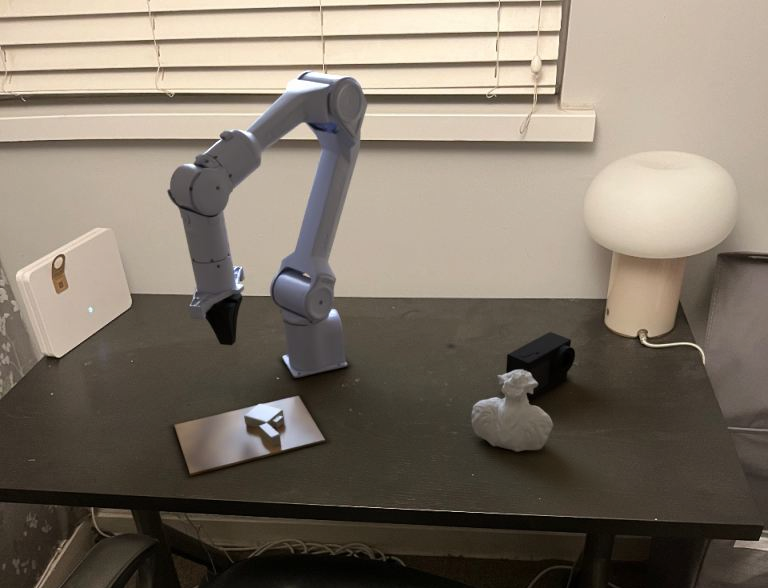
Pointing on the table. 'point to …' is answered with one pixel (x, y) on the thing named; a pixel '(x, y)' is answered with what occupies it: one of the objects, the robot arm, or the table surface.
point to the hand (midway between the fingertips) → (227, 342)
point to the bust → (512, 416)
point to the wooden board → (243, 437)
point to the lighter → (266, 422)
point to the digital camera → (543, 361)
